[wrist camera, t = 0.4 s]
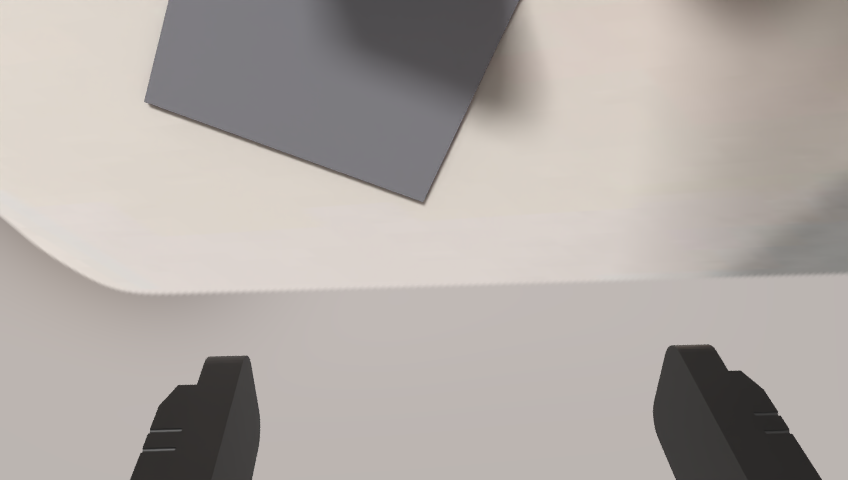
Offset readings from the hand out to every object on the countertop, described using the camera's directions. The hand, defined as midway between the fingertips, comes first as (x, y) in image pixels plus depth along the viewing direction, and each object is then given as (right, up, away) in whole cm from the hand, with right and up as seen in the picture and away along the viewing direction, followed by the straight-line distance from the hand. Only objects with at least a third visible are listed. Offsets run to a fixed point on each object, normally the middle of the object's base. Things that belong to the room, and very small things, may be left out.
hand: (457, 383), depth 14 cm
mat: (-4, +16, +21) cm, 27 cm away
